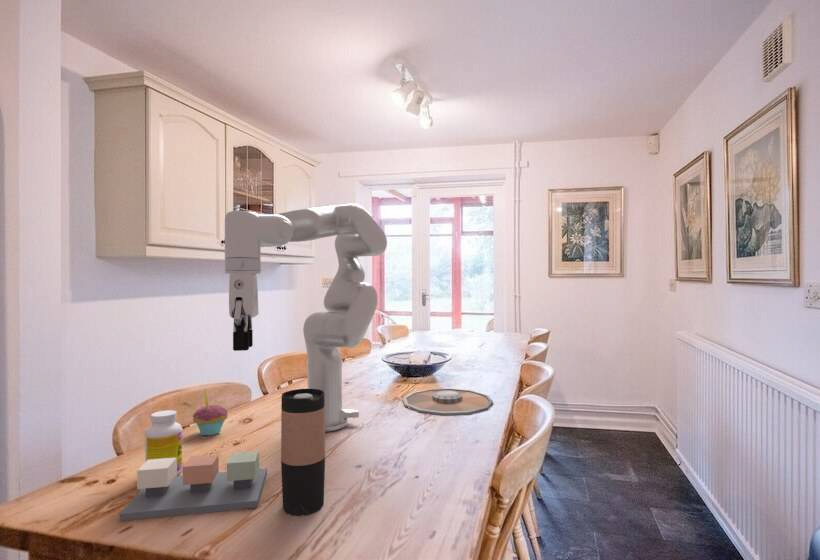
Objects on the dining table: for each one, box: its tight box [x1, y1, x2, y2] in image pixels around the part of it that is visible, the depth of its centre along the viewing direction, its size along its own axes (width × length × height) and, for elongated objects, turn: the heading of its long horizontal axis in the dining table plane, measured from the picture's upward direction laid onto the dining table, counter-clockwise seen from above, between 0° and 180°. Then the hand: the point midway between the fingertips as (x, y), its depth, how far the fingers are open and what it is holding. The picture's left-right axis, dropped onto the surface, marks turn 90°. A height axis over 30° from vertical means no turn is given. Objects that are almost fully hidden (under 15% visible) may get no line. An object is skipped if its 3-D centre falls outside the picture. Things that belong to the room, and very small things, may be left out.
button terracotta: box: [182, 453, 220, 485], centre depth 83 cm, size 5×5×3 cm
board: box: [119, 467, 268, 522], centre depth 83 cm, size 22×14×3 cm, turn 101°
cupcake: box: [192, 389, 229, 436], centre depth 118 cm, size 9×8×12 cm
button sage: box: [226, 451, 260, 481], centre depth 85 cm, size 5×5×3 cm
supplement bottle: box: [144, 409, 183, 476], centre depth 92 cm, size 7×7×13 cm
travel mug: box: [280, 388, 326, 517], centre depth 79 cm, size 8×8×20 cm
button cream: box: [136, 457, 178, 490], centre depth 82 cm, size 5×5×3 cm
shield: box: [402, 388, 494, 416], centre depth 147 cm, size 30×3×30 cm
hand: (243, 347), depth 99 cm, fingers open, 4 cm apart
